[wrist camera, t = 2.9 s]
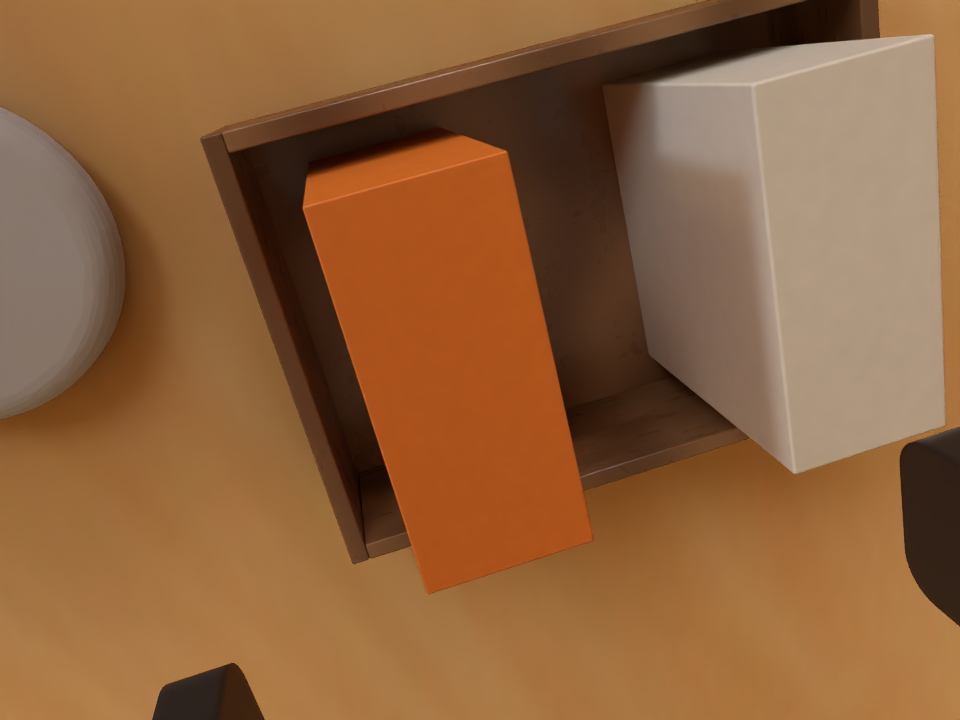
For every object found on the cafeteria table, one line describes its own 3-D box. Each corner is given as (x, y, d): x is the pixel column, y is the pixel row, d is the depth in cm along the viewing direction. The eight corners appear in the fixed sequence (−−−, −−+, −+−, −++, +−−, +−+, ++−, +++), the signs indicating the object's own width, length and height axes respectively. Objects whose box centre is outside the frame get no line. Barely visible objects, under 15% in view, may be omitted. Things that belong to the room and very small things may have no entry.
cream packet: (648, 355, 27) (794, 476, 19) (600, 83, 24) (751, 83, 16) (756, 322, 28) (947, 426, 19) (724, 50, 24) (936, 33, 16)
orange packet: (393, 433, 26) (427, 595, 18) (307, 162, 23) (301, 207, 15) (508, 398, 27) (594, 541, 18) (440, 126, 23) (508, 150, 15)
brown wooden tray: (347, 483, 27) (352, 565, 23) (223, 126, 23) (199, 138, 18) (805, 341, 29) (899, 391, 24) (770, -17, 24) (877, -40, 20)
